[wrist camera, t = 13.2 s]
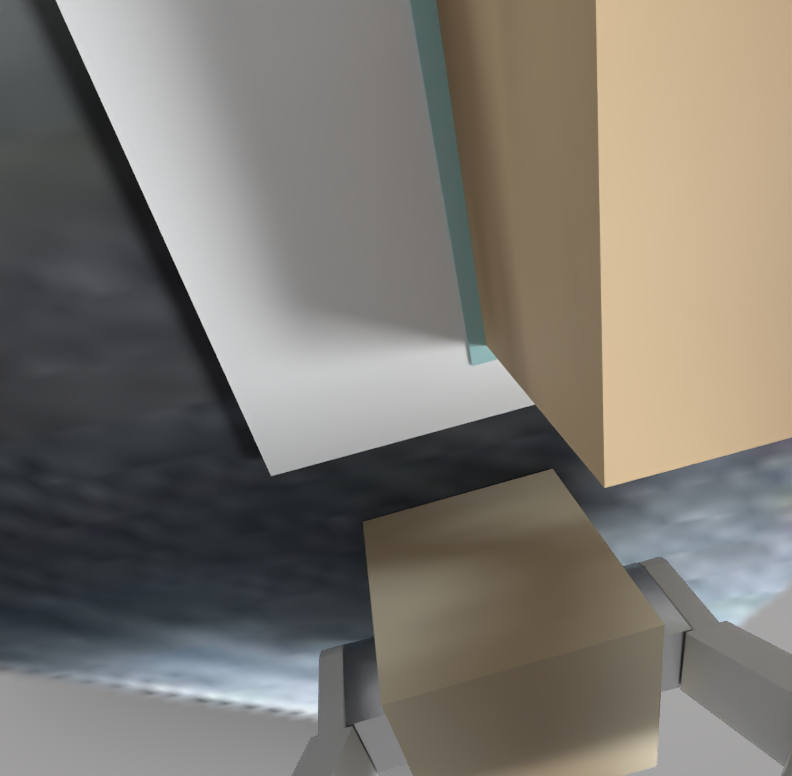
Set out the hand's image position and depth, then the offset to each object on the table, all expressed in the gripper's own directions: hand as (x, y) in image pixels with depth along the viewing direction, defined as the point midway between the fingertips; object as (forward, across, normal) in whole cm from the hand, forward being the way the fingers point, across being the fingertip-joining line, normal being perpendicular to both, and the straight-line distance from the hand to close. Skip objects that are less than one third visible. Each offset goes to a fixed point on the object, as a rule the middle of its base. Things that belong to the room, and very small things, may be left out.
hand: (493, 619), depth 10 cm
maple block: (+2, 0, 0) cm, 2 cm away
